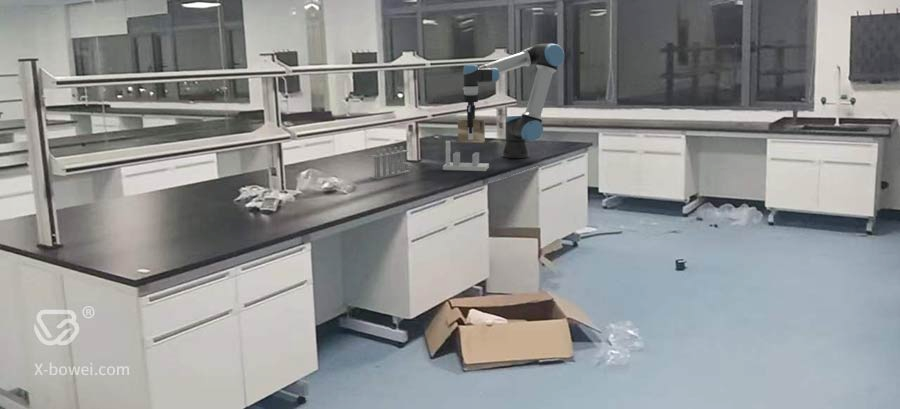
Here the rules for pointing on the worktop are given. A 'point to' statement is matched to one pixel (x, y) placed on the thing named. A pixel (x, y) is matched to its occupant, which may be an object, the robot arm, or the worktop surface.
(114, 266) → the worktop surface
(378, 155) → the test tube rack
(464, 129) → the oak door
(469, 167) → the white holder stand
